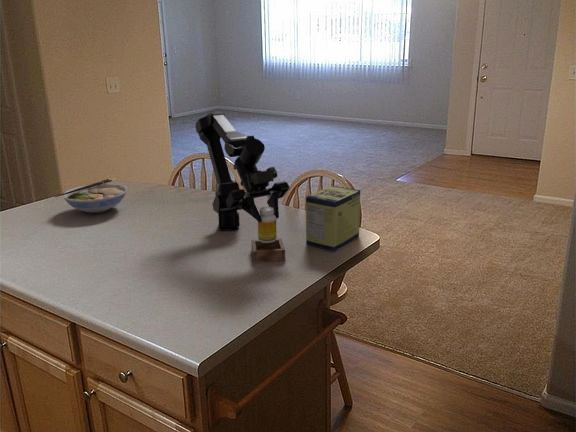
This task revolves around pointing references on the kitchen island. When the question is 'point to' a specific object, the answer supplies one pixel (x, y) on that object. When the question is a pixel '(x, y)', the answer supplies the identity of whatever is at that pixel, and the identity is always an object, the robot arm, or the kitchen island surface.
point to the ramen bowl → (95, 196)
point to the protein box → (332, 217)
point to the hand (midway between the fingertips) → (269, 219)
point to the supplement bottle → (267, 225)
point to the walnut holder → (268, 251)
